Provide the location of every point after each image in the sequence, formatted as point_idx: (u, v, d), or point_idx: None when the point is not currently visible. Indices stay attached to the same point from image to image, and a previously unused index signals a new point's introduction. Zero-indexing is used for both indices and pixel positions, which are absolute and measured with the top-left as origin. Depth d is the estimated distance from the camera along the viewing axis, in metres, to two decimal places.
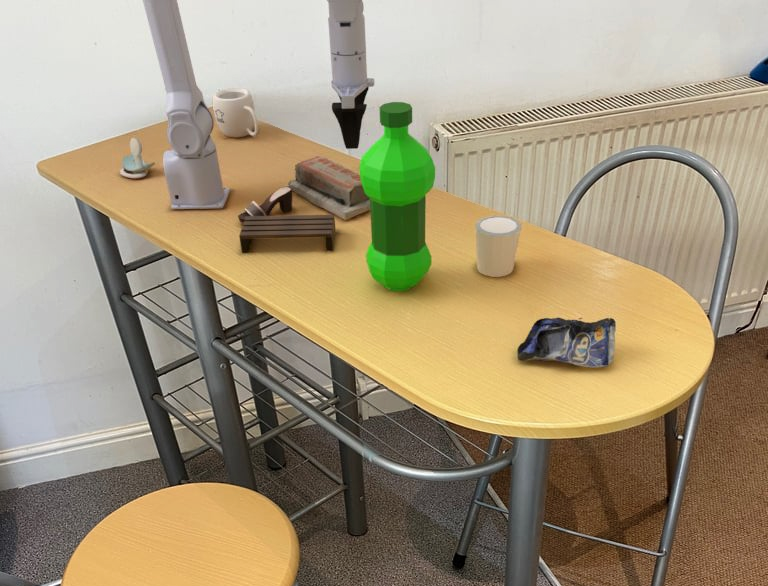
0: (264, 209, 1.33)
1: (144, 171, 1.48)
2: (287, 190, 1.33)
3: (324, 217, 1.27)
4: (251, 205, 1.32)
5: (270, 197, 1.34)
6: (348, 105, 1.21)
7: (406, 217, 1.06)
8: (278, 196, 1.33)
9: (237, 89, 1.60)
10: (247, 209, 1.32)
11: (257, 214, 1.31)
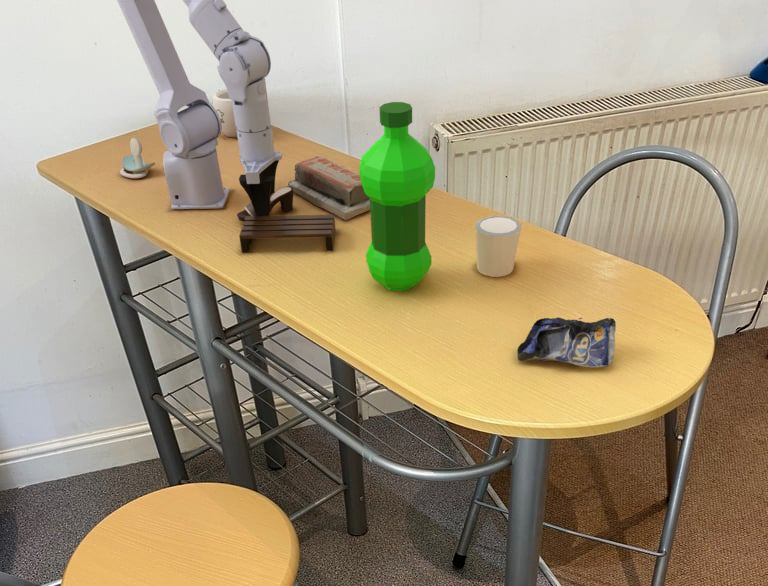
0: None
1: (144, 171, 1.48)
2: (287, 190, 1.33)
3: (324, 217, 1.27)
4: (251, 204, 1.32)
5: (271, 196, 1.34)
6: (253, 181, 1.23)
7: (406, 217, 1.06)
8: (278, 196, 1.33)
9: None
10: (246, 208, 1.32)
11: None
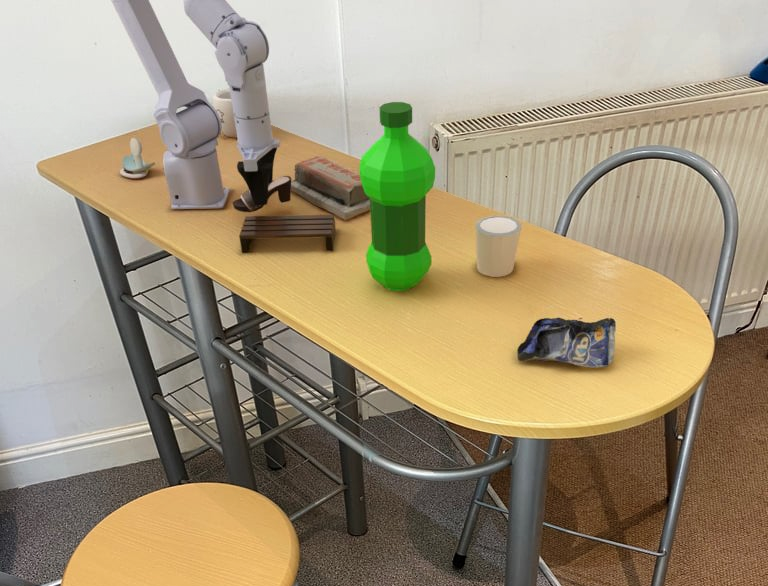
0: None
1: (144, 171, 1.48)
2: (285, 180, 1.31)
3: (324, 217, 1.27)
4: (247, 192, 1.31)
5: (268, 185, 1.32)
6: (251, 168, 1.22)
7: (406, 217, 1.06)
8: (275, 186, 1.31)
9: None
10: (242, 196, 1.31)
11: (251, 202, 1.30)
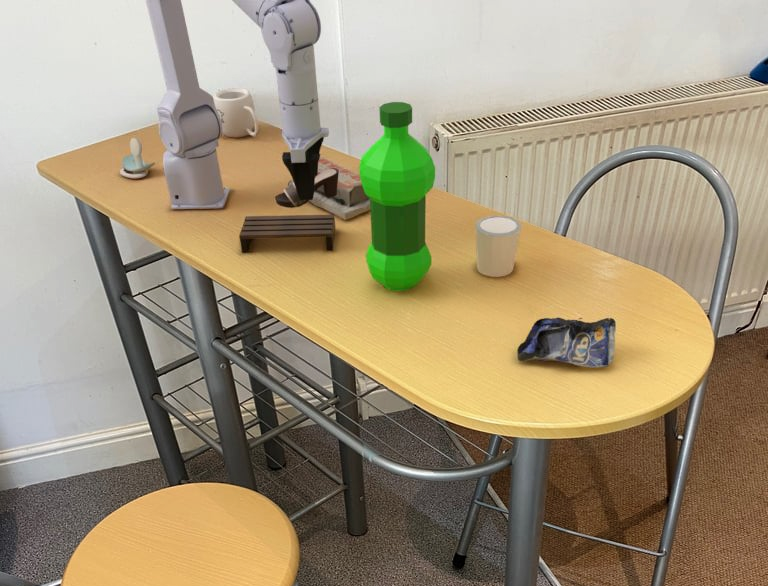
0: None
1: (144, 171, 1.48)
2: (332, 173, 1.21)
3: (324, 217, 1.27)
4: (290, 186, 1.20)
5: None
6: (298, 159, 1.11)
7: (406, 217, 1.06)
8: (321, 179, 1.20)
9: (237, 89, 1.60)
10: (286, 190, 1.20)
11: (295, 197, 1.19)
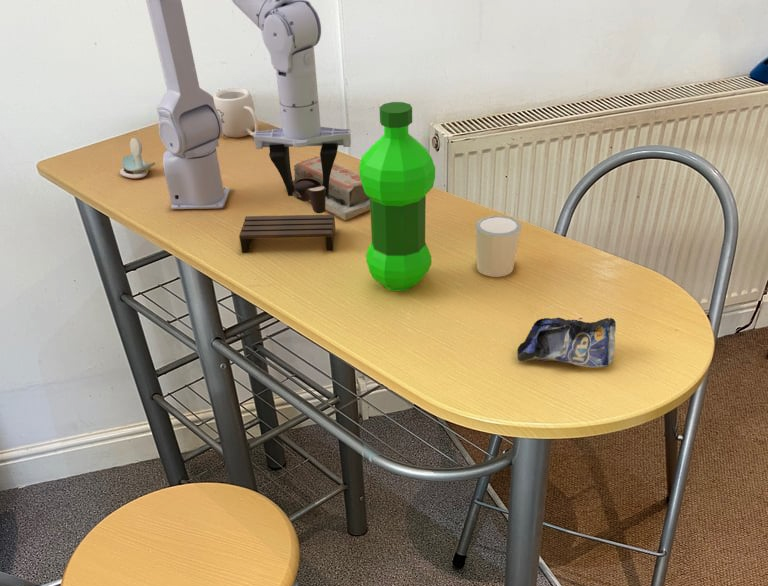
0: None
1: (144, 171, 1.48)
2: (313, 189, 1.17)
3: (324, 217, 1.27)
4: None
5: None
6: None
7: (406, 217, 1.06)
8: (309, 188, 1.19)
9: (237, 89, 1.60)
10: None
11: (293, 187, 1.23)
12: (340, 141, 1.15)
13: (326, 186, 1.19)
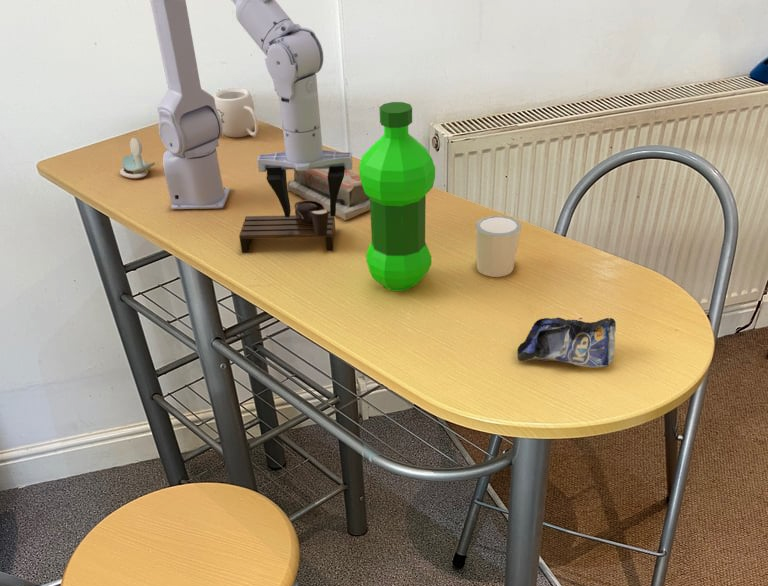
0: None
1: (144, 171, 1.48)
2: (316, 212, 1.20)
3: None
4: None
5: None
6: None
7: (406, 217, 1.06)
8: (312, 211, 1.21)
9: (237, 89, 1.60)
10: None
11: (296, 208, 1.25)
12: (342, 164, 1.18)
13: (333, 207, 1.22)
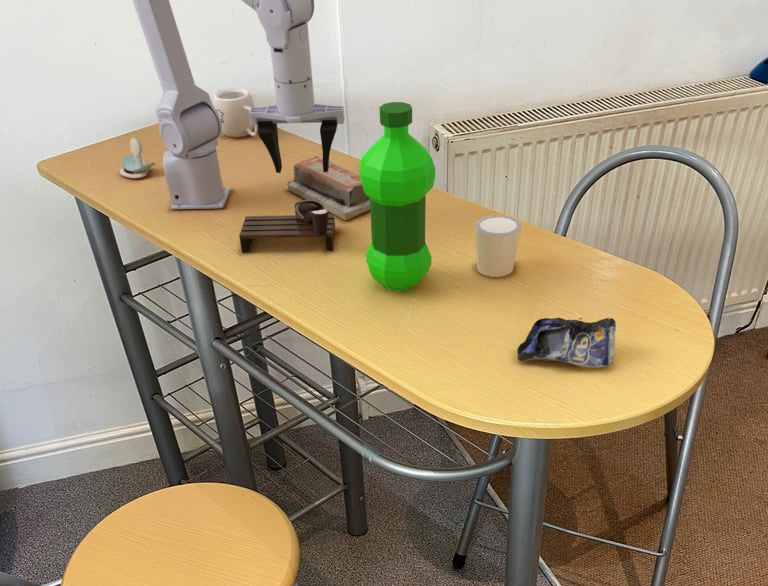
0: None
1: (144, 171, 1.48)
2: (316, 212, 1.20)
3: None
4: None
5: None
6: None
7: (406, 217, 1.06)
8: (312, 211, 1.21)
9: (237, 89, 1.60)
10: None
11: (296, 208, 1.25)
12: (333, 118, 1.18)
13: (326, 163, 1.21)
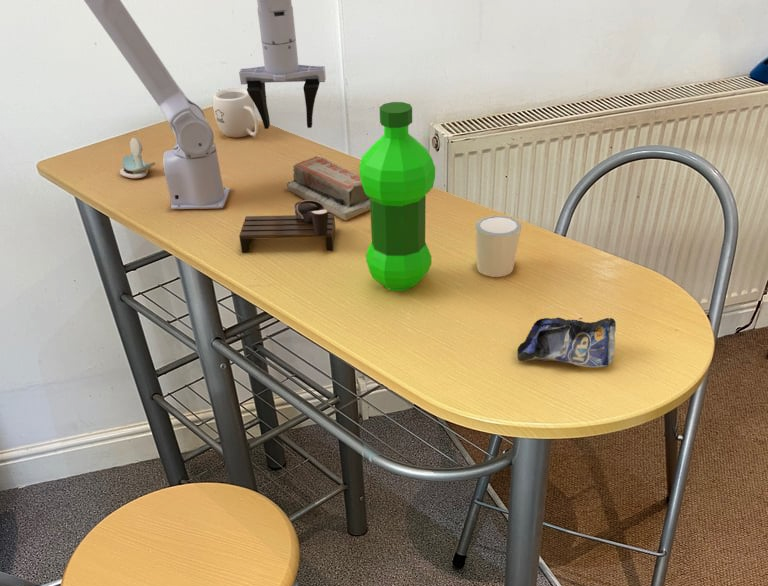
0: None
1: (144, 171, 1.48)
2: (316, 212, 1.20)
3: None
4: None
5: None
6: None
7: (406, 217, 1.06)
8: (312, 211, 1.21)
9: (237, 89, 1.60)
10: None
11: (296, 208, 1.25)
12: (316, 77, 1.30)
13: (309, 119, 1.34)
